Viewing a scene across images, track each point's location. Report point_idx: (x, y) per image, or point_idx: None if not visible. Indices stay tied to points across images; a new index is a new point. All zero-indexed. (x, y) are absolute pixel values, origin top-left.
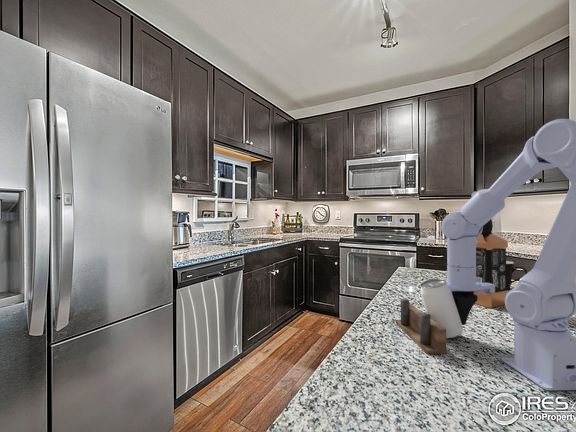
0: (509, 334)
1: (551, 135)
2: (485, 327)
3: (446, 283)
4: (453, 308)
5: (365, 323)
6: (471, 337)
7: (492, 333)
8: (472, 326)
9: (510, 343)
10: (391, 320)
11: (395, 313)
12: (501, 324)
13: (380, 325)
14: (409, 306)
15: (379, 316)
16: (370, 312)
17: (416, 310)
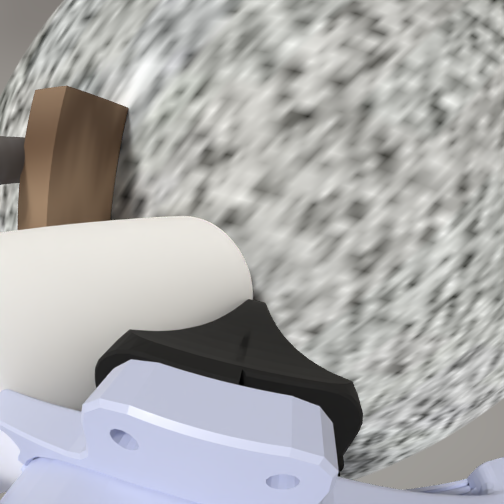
0: (456, 329)
1: None
2: (446, 250)
3: (2, 492)
4: None
5: (3, 113)
6: (289, 320)
7: (413, 309)
8: (406, 223)
9: (382, 385)
10: (76, 80)
11: (143, 3)
12: None
13: (25, 130)
14: (36, 136)
15: (65, 41)
16: (66, 7)
17: (34, 210)
